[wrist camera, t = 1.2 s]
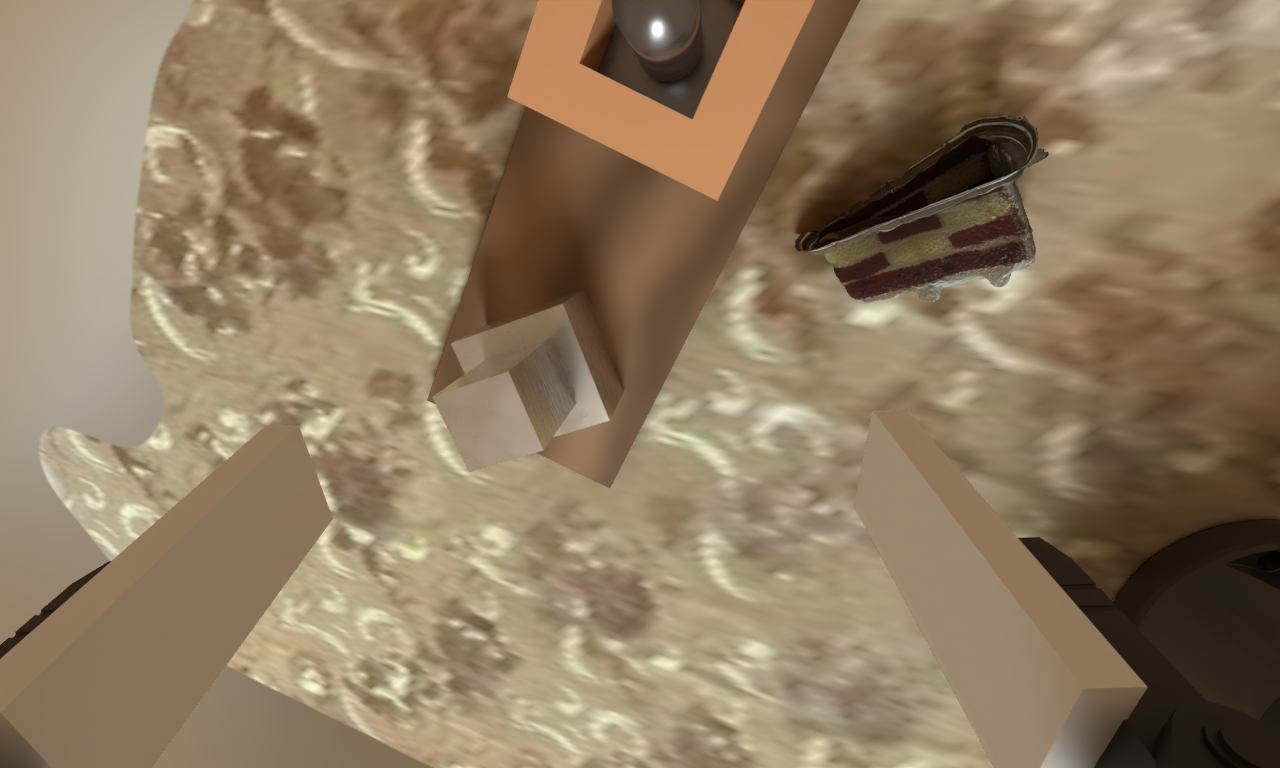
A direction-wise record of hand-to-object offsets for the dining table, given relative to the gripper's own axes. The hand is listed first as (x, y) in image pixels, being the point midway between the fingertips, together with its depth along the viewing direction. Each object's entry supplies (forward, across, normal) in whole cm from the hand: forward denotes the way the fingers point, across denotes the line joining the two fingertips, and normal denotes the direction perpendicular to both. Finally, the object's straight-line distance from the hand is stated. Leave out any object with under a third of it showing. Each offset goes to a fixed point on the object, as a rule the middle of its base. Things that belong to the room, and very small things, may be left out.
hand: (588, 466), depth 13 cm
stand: (+23, -4, -9) cm, 25 cm away
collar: (+18, -3, -10) cm, 21 cm away
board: (+24, 0, -1) cm, 24 cm away
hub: (+22, +4, +7) cm, 23 cm away
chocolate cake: (+22, -17, 0) cm, 28 cm away
